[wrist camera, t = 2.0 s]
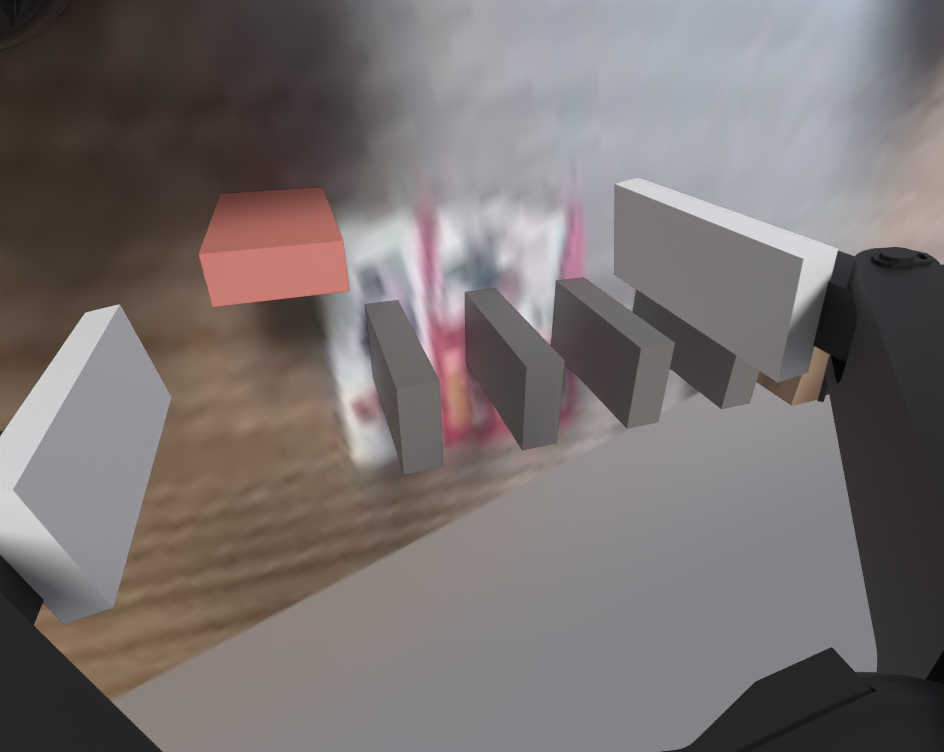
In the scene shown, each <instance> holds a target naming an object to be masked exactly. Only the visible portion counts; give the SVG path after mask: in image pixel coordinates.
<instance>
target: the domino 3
mask: <svg viewBox="0 0 944 752" xmlns="http://www.w3.org/2000/svg"><path fill="white" fill-rule="evenodd" d="M674 345H675V342H673V341H672V340H670V339H669V338H668V337H666V336H665V335H663V334H662V333H661V332H659V331H658V330H656V329H655V328H654V327H652V326H651V325H649V324H648V323H647V322H645V321H644V320H643V319H641V318H640V317H638V316H637V315H636V314H634V313H633V312H631V311H630V310H629V309H627V308H626V307H624V306H623V305H622V304H620V303H619V302H617V301H616V300H615V299H613V298H612V297H610V296H609V295H608V294H606V293H605V292H603V291H602V290H601V289H599V288H598V287H597V286H595V285H594V284H592V283H591V282H590V281H588V280H587V279H585V278H584V277H582V278H574V279H566V280H557V281H556V289H555V302H554V315H553V327H552V340H551V347H552V348H553V349H554V350H555V351H556V352H557V353H558V354H559V355H560V356H561V357H562V358H563V359H564V360H565V364H566V365H567V366H568V367H569V368H570V369H571V370H572V371H573V372H574V373H575V374H576V375H577V376H578V377H579V378H580V380H581V381H582V382H583V383H584V384H585V385H586V386H587V387H588V388H589V389H590V390H591V391H592V392H593V393H594V394H595V395H596V396H597V397H598V399H599V400H600V401H601V402H602V403H603V404H604V405H605V406H606V407H607V408H608V409H609V410H610V411H611V412H612V413H613V414H614V415H615V416H616V418H617V419H618V420H619V421H620V422H621V423H622V424H623V425H624V426H625V427H626V428H627V429H628V428H633V427H637V426H642V425H647V424H652V423H657V422H658V421H659V417H660V412H661V407H662V403H663V398H664V393H665V388H666V383H667V379H668V374H669V369H670V364H671V360H672V355H673V350H674Z"/></svg>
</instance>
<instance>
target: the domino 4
mask: <svg viewBox="0 0 944 752" xmlns="http://www.w3.org/2000/svg"><path fill="white" fill-rule="evenodd" d="M633 313H634V314H636V315H637V316H638V317H640V318H641V319H643V320H644V321H645V322H647V323H648V324H649V325H651V326H652V327H654V328H655V329H656V330H658V331H659V332H661V333H662V334H663V335H665V336H666V337H668V338H669V339H670V340H672V341H673V342H675V345H674V350H673V355H672V360H671V364H670V369H671V370H673V371H674V372H675V373H676V374H678V375H679V376H680V377H682V378H683V379H684V380H685V381H687V382H688V383H689V384H690V385H692V386H693V387H694V388H695V389H697V390H698V391H699V392H700V393H702V394H703V395H704V396H706V397H707V398H708V399H709V400H711V401H712V402H713V403H714V404H716V405H717V406H718V407H719V408H721V409H724V408H729V407H734V406H739V405H744V404H749V403H750V400H751V397H752V394H753V390H754V388H755V384H756V381H757V378H758V375H759V370H758V369H756V368H755V367H753V366H752V365H750V364H749V363H747V362H746V361H744V360H743V359H741V358H740V357H738V356H737V355H735V354H734V353H732V352H731V351H729V350H728V349H726V348H725V347H723V346H722V345H720V344H719V343H717V342H715V341H714V340H712V339H711V338H709V337H708V336H706V335H705V334H703V333H702V332H700V331H699V330H697V329H696V328H694V327H693V326H691V325H690V324H688V323H687V322H685V321H684V320H682V319H681V318H679V317H678V316H676V315H675V314H673V313H672V312H670V311H669V310H667V309H666V308H664V307H663V306H661V305H659V304H658V303H656V302H655V301H653V300H652V299H650V298H649V297H647V296H646V295H644V294H643V293H641V292H640V291H638V290H637V289H636V295H635V301H634V308H633Z"/></svg>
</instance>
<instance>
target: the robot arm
mask: <svg viewBox="0 0 944 752" xmlns="http://www.w3.org/2000/svg"><path fill="white" fill-rule="evenodd" d="M70 2H71V0H0V50H3V49H6V48H9V47H13V46H15V45H18V44H20V43H23V42H25V41H27V40H29V39H31V38H33V37H34V36H36V35H37V34H39V33H41V32H42V31H44V30H45V29H46V28H47V27H48V26H50V25H51V24H52V23H53V22H54V21H55V20H56V19H57V18H58V17H59V16H60V15H61V14H62V13H63V11H64V10H65V9H66V8H67V6H68V5H69V3H70ZM614 275H616V276H617V277H619V278H620V279H622V280H623V281H625V282H626V283H628V284H629V285H631V286H632V287H634V288H635V289H637V290H638V291H640V292H641V293H643V294H644V295H646V296H647V297H649V298H650V299H652V300H653V301H655V302H656V303H658V304H659V305H661V306H663V307H664V308H666V309H667V310H669V311H670V312H672V313H673V314H675V315H676V316H678V317H679V318H681V319H682V320H684V321H685V322H687V323H688V324H690V325H691V326H693V327H694V328H696V329H697V330H699V331H700V332H702V333H703V334H705V335H706V336H708V337H709V338H711V339H712V340H714V341H715V342H717V343H719V344H720V345H722V346H723V347H725V348H726V349H728V350H729V351H731V352H732V353H734V354H735V355H737V356H738V357H740V358H741V359H743V360H744V361H746V362H747V363H749V364H750V365H752V366H753V367H755V368H756V369H758V370H759V371H761V372H762V373H764V374H765V375H767V376H768V377H770V378H771V379H773V380H775V381H776V382H781V381H784V380H787V379H790V378H793V377H796V376H799V375H802V374H805V373H808V371H809V367H810V363H811V359H812V354H813V350H814V346H815V347H817V348H819V349H820V350H822V351H824V352H826V353H828V354H829V359H828V362H827V366H826V370H825V374H824V378H823V381H822V385H821V389H820V393H819V397H818V401H821V402H823V401H824V399H825V396H826V395H828V394H830V400H831V406H832V411H833V416H834V422H835V426H836V432H837V438H838V443H839V448H840V454H841V459H842V464H843V470H844V475H845V480H846V486H847V491H848V496H849V502H850V507H851V513H852V518H853V523H854V528H855V534H856V540H857V545H858V550H859V555H860V560H861V566H862V571H863V576H864V582H865V587H866V593H867V598H868V604H869V609H870V615H871V620H872V625H873V630H874V636H875V641H876V648H877V672H854V670H853V669H852V668H851V667H850V666H849V665H848V664H847V663H846V662H845V661H844V660H843V659H842V657H840V655H839V654H838V653H837V652H836V651H835V650H834V649H833V648H832V647H831V648H829V649H827V650H824V651H823V652H820V653H818V654H816V655H813V656H811V657H809V658H807V659H805V660H803V661H800V662H798V663H796V664H794V665H791V666H789V667H787V668H785V669H782V670H780V671H778V672H776V673H774V674H771V675H769V676H767V677H765V678H763V679H760V680H758V681H756V682H755V683H754V684H753V685H752V686H751V687H749V688H748V690H746V692H744V693H743V694H742V695H741V696H740V697H739V698H738V699H737V700H736V701H735V702H734V703H733V704H732V705H731V706H730V707H729V708H728V709H727V710H726V711H725V712H724V713H723V714H722V715H721V716H720V717H719V718H718V719H717V720H716V721H715V722H714V723H713V724H712V725H711V726H710V727H709V728H708V729H707V730H706V731H705V732H704V733H703V734H702V735H701V736H700V737H699V738H697V739H696V740H695V741H694V742H693V743H692V744H691V745H689V746H687V747H685V748H682V749H678V750H672V751H663V752H944V265H940V263H939V262H938V261H937V260H936V259H935V258H934V257H932V256H930V255H928V254H927V253H922V252H919V251H914V250H910V249H907V248H899V247H890V248H874V249H869V250H865V251H862V252H860V253H858V254H857V255H856V256H855V257H854V256H852V255H849V254H846V253H843V252H841V251H838V249H837V248H834V247H831V246H829V245H826V244H823V243H820V242H817V241H815V240H812V239H809V238H806V237H803V236H801V235H798V234H795V233H792V232H789V231H787V230H784V229H781V228H778V227H775V226H772V225H770V224H767V223H764V222H761V221H758V220H756V219H753V218H750V217H747V216H744V215H742V214H739V213H736V212H733V211H730V210H727V209H725V208H722V207H719V206H716V205H713V204H711V203H708V202H705V201H702V200H699V199H697V198H694V197H691V196H688V195H685V194H683V193H680V192H677V191H674V190H671V189H668V188H666V187H663V186H660V185H657V184H654V183H652V182H649V181H646V180H643V179H640V178H636V179H632V180H628V181H624V182H620V183H616V184H614ZM170 401H171V396H170V394H169V392H168V390H167V388H166V386H165V385H164V383H163V381H162V379H161V377H160V376H159V374H158V372H157V370H156V368H155V367H154V365H153V363H152V361H151V359H150V358H149V356H148V354H147V352H146V350H145V349H144V347H143V345H142V343H141V341H140V340H139V338H138V336H137V334H136V332H135V331H134V329H133V327H132V325H131V323H130V322H129V320H128V318H127V316H126V314H125V313H124V311H123V309H122V307H121V305H120V304H119V305H114V306H110V307H106V308H102V309H98V310H94V311H90V312H86V313H85V314H84V315H83V317H82V318H81V320H80V321H79V322H78V324H77V325H76V327H75V328H74V330H73V331H72V333H71V334H70V336H69V337H68V338H67V340H66V341H65V343H64V344H63V346H62V347H61V349H60V350H59V352H58V353H57V354H56V356H55V357H54V359H53V360H52V362H51V363H50V365H49V366H48V368H47V369H46V370H45V372H44V373H43V375H42V376H41V378H40V379H39V381H38V382H37V384H36V385H35V386H34V388H33V389H32V391H31V392H30V394H29V395H28V397H27V398H26V400H25V401H24V402H23V404H22V405H21V407H20V408H19V410H18V411H17V413H16V414H15V416H14V417H13V418H12V420H11V421H10V423H9V424H8V426H7V427H6V429H5V430H4V431H1V432H0V752H162V751H161V750H160V749H159V748H158V747H157V746H156V745H155V744H154V743H153V742H152V741H151V740H150V739H149V738H148V737H147V736H146V735H145V734H144V733H143V732H142V731H141V730H140V729H139V728H138V727H137V726H136V725H135V724H133V722H131V720H130V719H129V718H127V717H126V715H124V714H123V713H122V712H121V711H120V710H119V709H118V708H117V707H116V706H115V705H114V704H113V703H112V702H111V701H110V700H109V699H108V698H107V697H106V696H105V695H104V694H103V693H102V692H101V691H100V690H99V689H98V688H97V687H96V686H95V685H94V684H93V683H92V682H91V681H90V680H89V679H88V678H87V677H86V676H85V675H84V674H83V673H82V672H81V671H80V670H79V669H77V668H76V667H75V666H74V665H73V664H72V663H71V662H70V661H69V660H68V659H67V658H66V657H65V656H64V655H63V654H62V653H61V652H60V651H59V650H58V649H57V648H56V647H55V646H54V645H53V644H52V643H51V642H50V641H49V640H48V639H47V638H46V637H45V636H44V635H43V634H42V633H41V632H40V631H39V630H38V629H37V628H36V627H35V626H34V623H35V621H36V618H37V616H38V613H39V611H40V608H41V606H42V603H43V604H44V605H45V606H46V607H47V608H48V609H49V610H50V611H51V612H52V613H53V614H54V615H55V616H56V617H57V618H58V619H59V620H60V621H61V622H62V623H63V624H66V623H69V622H72V621H75V620H78V619H81V618H84V617H87V616H90V615H93V614H96V613H99V612H102V611H105V610H107V609H110V608H113V607H114V603H115V600H116V596H117V593H118V589H119V585H120V582H121V578H122V574H123V571H124V567H125V564H126V560H127V556H128V553H129V549H130V545H131V542H132V538H133V535H134V531H135V527H136V524H137V520H138V517H139V513H140V509H141V506H142V502H143V498H144V495H145V491H146V488H147V484H148V480H149V477H150V473H151V469H152V466H153V462H154V459H155V455H156V451H157V448H158V444H159V441H160V437H161V433H162V430H163V426H164V422H165V419H166V415H167V412H168V408H169V404H170Z"/></svg>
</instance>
